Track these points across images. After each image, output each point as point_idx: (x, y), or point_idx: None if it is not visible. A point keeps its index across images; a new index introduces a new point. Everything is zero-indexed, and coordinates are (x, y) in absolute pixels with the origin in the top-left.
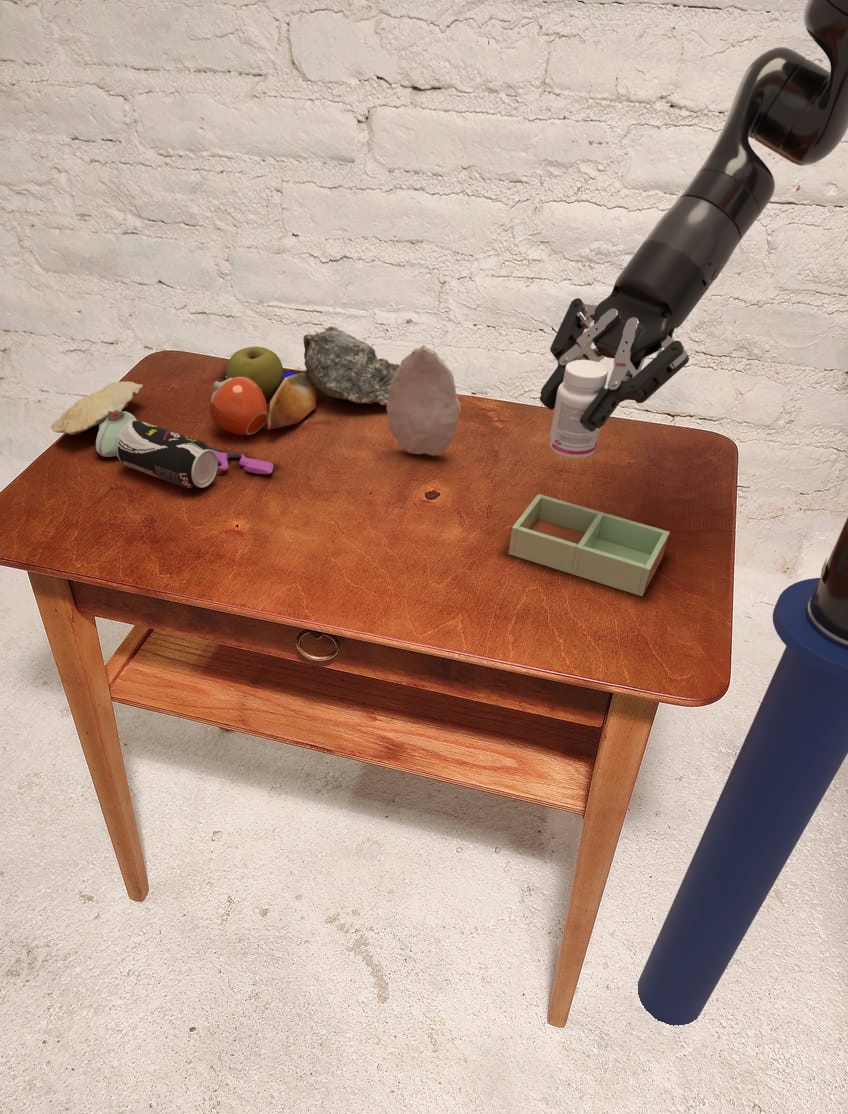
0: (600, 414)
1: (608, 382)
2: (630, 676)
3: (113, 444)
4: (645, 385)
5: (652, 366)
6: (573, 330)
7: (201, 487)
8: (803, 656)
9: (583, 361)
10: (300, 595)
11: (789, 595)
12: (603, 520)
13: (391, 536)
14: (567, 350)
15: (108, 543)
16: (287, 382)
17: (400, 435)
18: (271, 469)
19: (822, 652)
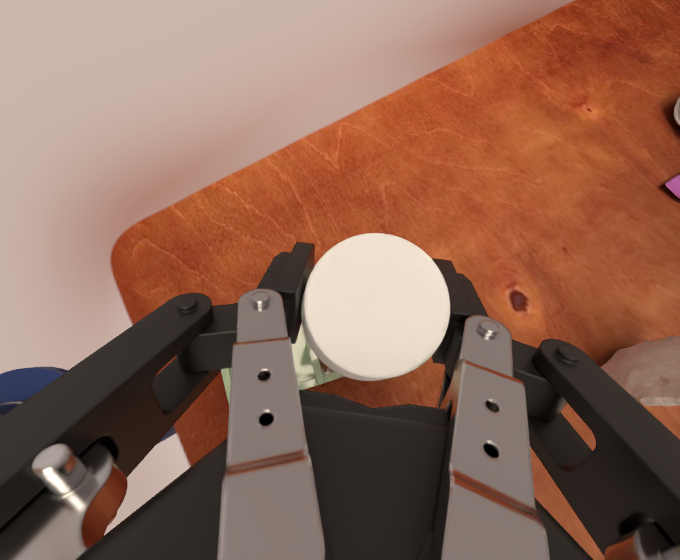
0: (272, 262)
1: (281, 299)
2: (174, 213)
3: None
4: (185, 384)
5: (104, 368)
6: (614, 469)
7: (674, 110)
8: (57, 368)
9: (420, 339)
10: (455, 88)
11: None
12: (314, 377)
13: (479, 207)
14: (550, 428)
15: (628, 18)
16: None
17: (653, 341)
18: (672, 189)
19: (32, 376)
